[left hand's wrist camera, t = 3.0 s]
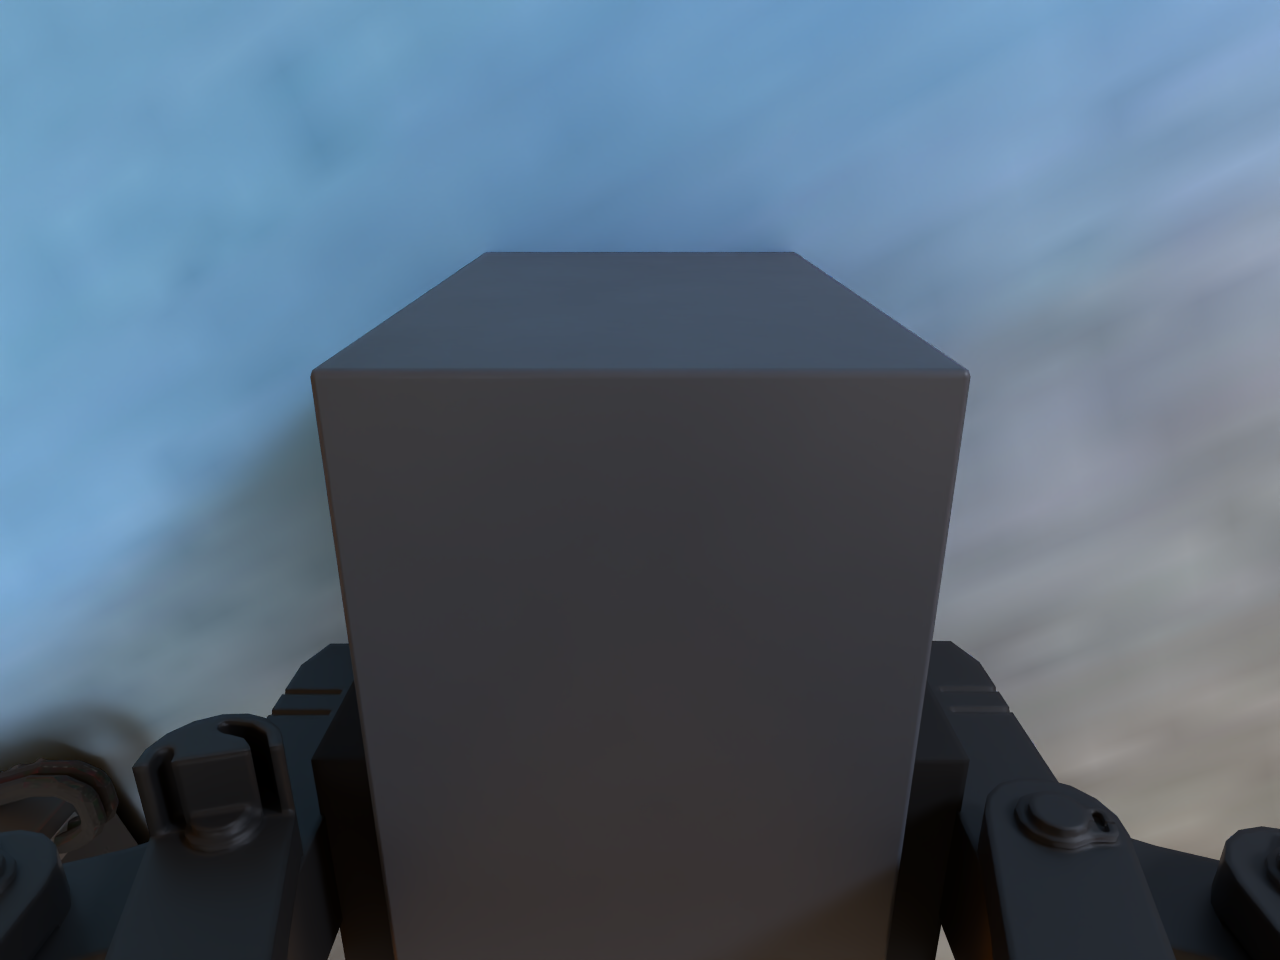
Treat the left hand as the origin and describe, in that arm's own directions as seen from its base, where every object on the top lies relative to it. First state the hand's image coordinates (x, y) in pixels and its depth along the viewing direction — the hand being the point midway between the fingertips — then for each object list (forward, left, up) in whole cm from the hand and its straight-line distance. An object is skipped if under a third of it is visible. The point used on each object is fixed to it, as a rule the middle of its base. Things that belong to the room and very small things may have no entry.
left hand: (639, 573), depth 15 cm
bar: (+32, 0, -1) cm, 32 cm away
